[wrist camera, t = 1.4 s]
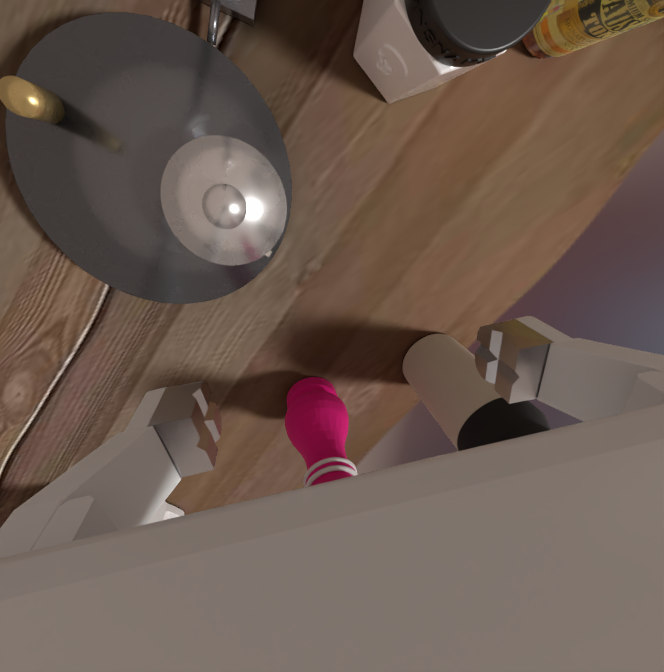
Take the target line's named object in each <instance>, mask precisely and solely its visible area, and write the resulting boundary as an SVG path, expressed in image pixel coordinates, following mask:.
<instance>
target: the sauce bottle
mask: <svg viewBox="0 0 664 672" xmlns="http://www.w3.org/2000/svg"><path fill="white" fill-rule="evenodd" d="M663 17H664V0H552V1H551V3H550V5H549V6H548V8H547V10H546V11H545V13H544V15H543V16H542V18H541V19H540V20H539V22H538V23H537V24H536V25H535V27H534V28H533V29H532V30H531V31H530V32H529V33H528V34H527V35H526V36H525V37H524V38H523V39H522V41H523V43H524V45H525V47H526V49H527V50H528V51H529V52H530V53H531V55H532V56H536V57H537V58H539V59H541V58H543V59H544V58H550V57H553V56H555V57H558V56H563V55H566V54H568V53H571V52H574V51H576V50H579V49H581V48H584V47H587V46H589V45H592V44H595V43H597V42H600V41H602V40H605V39H608V38H610V37H613V36H616V35H618V34H621V33H624V32H626V31H628V30H631V29H634V28H637V27H640V26H642V25H645V24H647V23H650V22H653V21H655V20H657V19H660V18H663Z"/></svg>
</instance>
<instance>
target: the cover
mask: <svg viewBox="0 0 664 672" xmlns="http://www.w3.org/2000/svg"><path fill="white" fill-rule="evenodd" d="M160 196H161V204H162V208H163V212H164V215H165V218H166V220H167V223H168V224H169V226H170V228H171V230H172V231H173V233H174V234H175V236H176V237H177V238H178V239H179V241H180V242H181V243H182V244H183V245H184V246H185V247H186V248H187V249H189V250H190V251H191V252H193V253H194V254H195V255H197V256H199V257H201V258H203V259H205V260H207V261H210V262H213V263H216V264H221V265H232V266H233V265H242V264H247V263H250V262H253V261H255V260H257V259H259V258H261V257H262V256H264V255H265V254H267V253H268V252H269V251H270V250H271V249H272V248H273V247H274V245H275V244H276V243H277V241H278V240H279V238H280V236H281V234H282V232H283V229H284V226H285V222H286V216H287V202H286V196H285V191H284V188H283V185H282V182H281V180H280V178H279V176H278V174H277V172H276V170H275V169H274V167H273V166H272V165H271V163H270V162H269V161H268V160H267V159H266V158H265V157H264V156H263V155H262V154H261V153H260V152H259V151H258V150H256V149H255V148H254V147H252V146H250V145H249V144H247V143H245V142H243V141H240V140H238V139H235V138H232V137H228V136H220V135H210V136H204V137H200V138H197V139H194V140H192V141H190V142H188V143H186V144H185V145H183V146H182V147H181V148H179V149H178V150H177V151H176V152H175V153H174V154H173V156H172V157H171V159H170V160H169V162H168V163H167V166H166V168H165V170H164V173H163V176H162V181H161V195H160Z"/></svg>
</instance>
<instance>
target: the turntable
mask: <svg viewBox="0 0 664 672" xmlns="http://www.w3.org/2000/svg"><path fill="white" fill-rule="evenodd" d="M0 99H1V101H2V103H3V104H4V105H5V106H6V107H7V110H6V121H5V127H6V144H7V149H8V154H9V159H10V164H11V168H12V171H13V174H14V176H15V179H16V182H17V185H18V188H19V190H20V192H21V194H22V196H23V198H24V200H25V202H26V204H27V206H28V208H29V209H30V211H31V213H32V214H33V216H34V217H35V219H36V221H37V222H38V224H39V225H40V226H41V228H42V229H43V230H44V231H45V233H46V234H47V235H48V237H49V238H50V239H51V240H52V241H53V242H54V243H55V244H56V245H57V246H58V248H59V249H60V250H61V251H62V252H63V253H64V254H65V255H67V256H68V257H69V258H70V259H71V260H72V261H73V262H75V263H76V264H77V265H78V266H79V267H81V268H82V269H84V270H85V271H86V272H88V273H89V274H91V275H92V276H94V277H95V278H97V279H99V280H100V281H102V282H104V283H106V284H108V285H109V286H111V287H113V288H116V289H118V290H120V291H123V292H125V293H127V294H130V295H133V296H136V297H140V298H143V299H147V300H152V301H157V302H164V303H174V304H184V303H197V302H205V301H209V300H212V299H216V298H220V297H222V296H225V295H227V294H230V293H232V292H234V291H236V290H237V289H239V288H241V287H243V286H244V285H246V284H247V283H248V282H250V281H251V280H252V279H254V278H255V277H256V276H257V275H258V274H259V273H260V272H261V271H262V270H263V269H264V268H265V267H266V265H267V264H268V263H269V261H270V260H271V259H272V257H273V256H274V254H275V252H276V251H277V249H278V247H279V245H280V243H281V241H282V238H283V236H284V233H285V231H286V227H287V224H288V220H289V216H290V208H291V200H292V181H291V173H290V165H289V160H288V156H287V152H286V148H285V144H284V142H283V139H282V136H281V133H280V130H279V128H278V126H277V124H276V122H275V120H274V118H273V115H272V113H271V111H270V109H269V108H268V106H267V105H266V103H265V101H264V100H263V98H262V97H261V95H260V94H259V92H258V91H257V89H256V88H255V87H254V86H253V84H252V83H251V82H250V81H249V79H248V78H247V77H246V76H245V74H244V73H243V72H242V71H241V70H240V69H239V68H238V67H237V66H236V65H235V64H234V63H233V62H232V61H231V60H230V59H229V58H227V57H226V56H225V55H224V54H222V53H221V52H220V51H219V50H217V49H216V48H215V47H214V46H213V45H211V44H210V43H208V42H206V41H205V40H203V39H202V38H200V37H198V36H197V35H195V34H194V33H192V32H190V31H188V30H186V29H183V28H181V27H179V26H177V25H175V24H173V23H170V22H167V21H164V20H161V19H157V18H154V17H151V16H146V15H140V14H133V13H127V12H126V13H100V14H94V15H89V16H83V17H81V18H78V19H75V20H73V21H70V22H68V23H65V24H63V25H61V26H60V27H58V28H57V29H55V30H53V31H52V32H50V33H49V34H47V35H46V36H45V37H44V38H43V39H42V40H41V41H40V42H38V43H37V44H36V45H35V46H34V47H33V48H32V49H31V51H30V52H29V54H28V55H27V56H26V58H25V59H24V61H23V62H22V63H21V65H20V67H19V69H18V71H17V74H16V76H5V77H3V78H1V79H0ZM210 135H220V136H228V137H232V138H235V139H238V140H240V141H243V142H245V143H247V144H249V145H250V146H252V147H254V148H255V149H256V150H258V151H259V152H260V153H261V154H262V155H263V156H264V157H265V158H266V159H267V160H268V161H269V162H270V163H271V165H272V166H273V167H274V169H275V170H276V172H277V174H278V176H279V178H280V180H281V182H282V185H283V188H284V191H285V196H286V202H287V216H286V222H285V226H284V229H283V232H282V234H281V236H280V238H279V240H278V241H277V243H276V244H275V245H274V247H273V248H272V249H271V250H270V251H269V252H268V253H267V254H265V255H264V256H262V257H261V258H259V259H257V260H255V261H253V262H250V263H247V264H242V265H233V266H232V265H221V264H216V263H213V262H210V261H207V260H205V259H203V258H201V257H199V256H197V255H195V254H194V253H193V252H191V251H190V250H189V249H187V248H186V247H185V246H184V245H183V244H182V243H181V242H180V241H179V239H178V238H177V237H176V236H175V234H174V233H173V231H172V230H171V228H170V226H169V224H168V223H167V220H166V218H165V215H164V212H163V208H162V204H161V196H160V195H161V181H162V176H163V173H164V170H165V168H166V166H167V163H168V162H169V160H170V159H171V157H172V156H173V154H174V153H175V152H176V151H177V150H178V149H179V148H181V147H182V146H183V145H185V144H186V143H188V142H190V141H192V140H194V139H197V138H200V137H204V136H210Z"/></svg>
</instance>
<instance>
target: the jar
mask: <svg viewBox="0 0 664 672" xmlns="http://www.w3.org/2000/svg"><path fill="white" fill-rule="evenodd" d="M551 1H552V0H364V1H363V6H362V12H361V17H360V22H359V27H358V32H357V37H356V42H355V47H354V52H353V56H354V58H355V60H356V61H357V62H358V64H359V65H360V66H361V68H362V69H363V70H364V72H365V73H366V74H367V76H368V77H369V78H370V80H371V81H372V82H373V84H374V85H375V86H376V88H377V89H378V90H379V92H380V93H381V94H382V96H383V97H384V98H385V100H386V101H387V102H388V103H392V102H395V101H398V100H401V99H404V98H407V97H410V96H413V95H415V94H418V93H421V92H424V91H427V90H430V89H433V88H435V87H437V86H439V85H441V84H443V83H445V82H447V81H449V80H451V79H453V78H455V77H457V76H459V75H461V74H463V73H465V72H467V71H469V70H471V69H473V68H475V67H477V66H479V65H481V64H483V63H485V62H487V61H489V60H491V59H493V58H495V57H497V56H499V55H501V54H503V53H504V52H506V50H507V49H509V48H510V47H512V46H514V45H515V44H517V43H518V42H519V41H521V40H522V39H523V38H524V37H525V36H526V35H527V34H528V33H529V32H530V31H531V30H532V29H533V28H534V27H535V25H536V24H537V23H538V22H539V20H540V19H541V18H542V16H543V15H544V13H545V11H546V10H547V8H548V6H549V5H550V3H551Z"/></svg>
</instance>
